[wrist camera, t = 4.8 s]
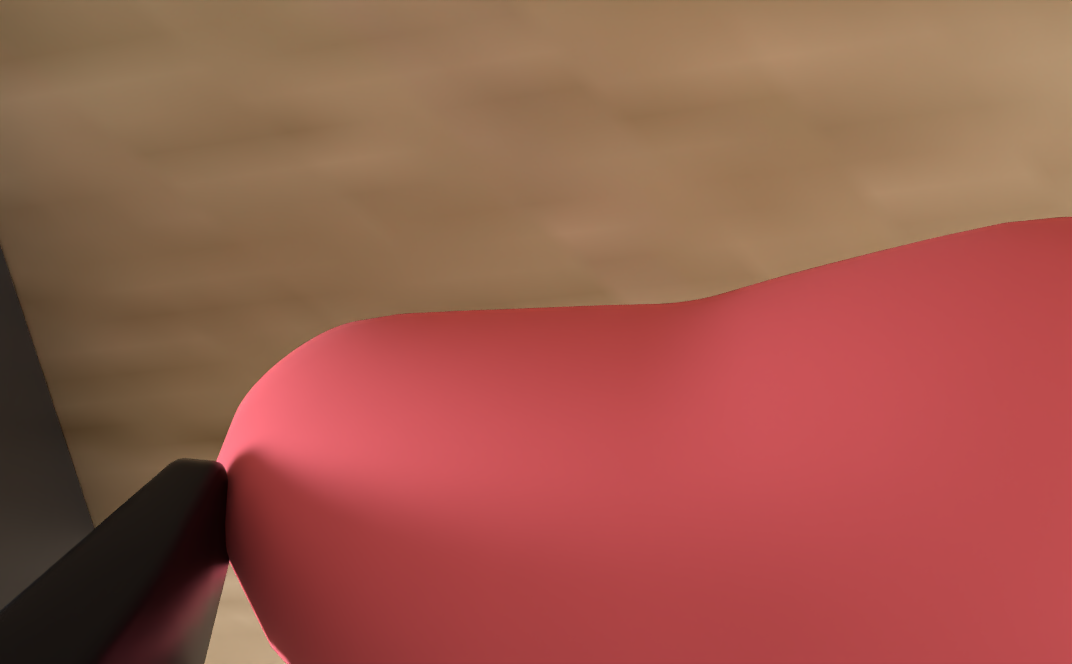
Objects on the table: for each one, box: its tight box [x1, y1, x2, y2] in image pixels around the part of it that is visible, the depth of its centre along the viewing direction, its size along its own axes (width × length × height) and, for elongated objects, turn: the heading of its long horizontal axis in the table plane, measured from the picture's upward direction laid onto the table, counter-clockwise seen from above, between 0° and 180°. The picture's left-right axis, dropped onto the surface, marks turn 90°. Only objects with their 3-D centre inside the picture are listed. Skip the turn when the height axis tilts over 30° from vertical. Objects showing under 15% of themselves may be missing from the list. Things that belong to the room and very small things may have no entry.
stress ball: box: [217, 217, 1072, 664], centre depth 9 cm, size 5×9×6 cm, turn 92°
